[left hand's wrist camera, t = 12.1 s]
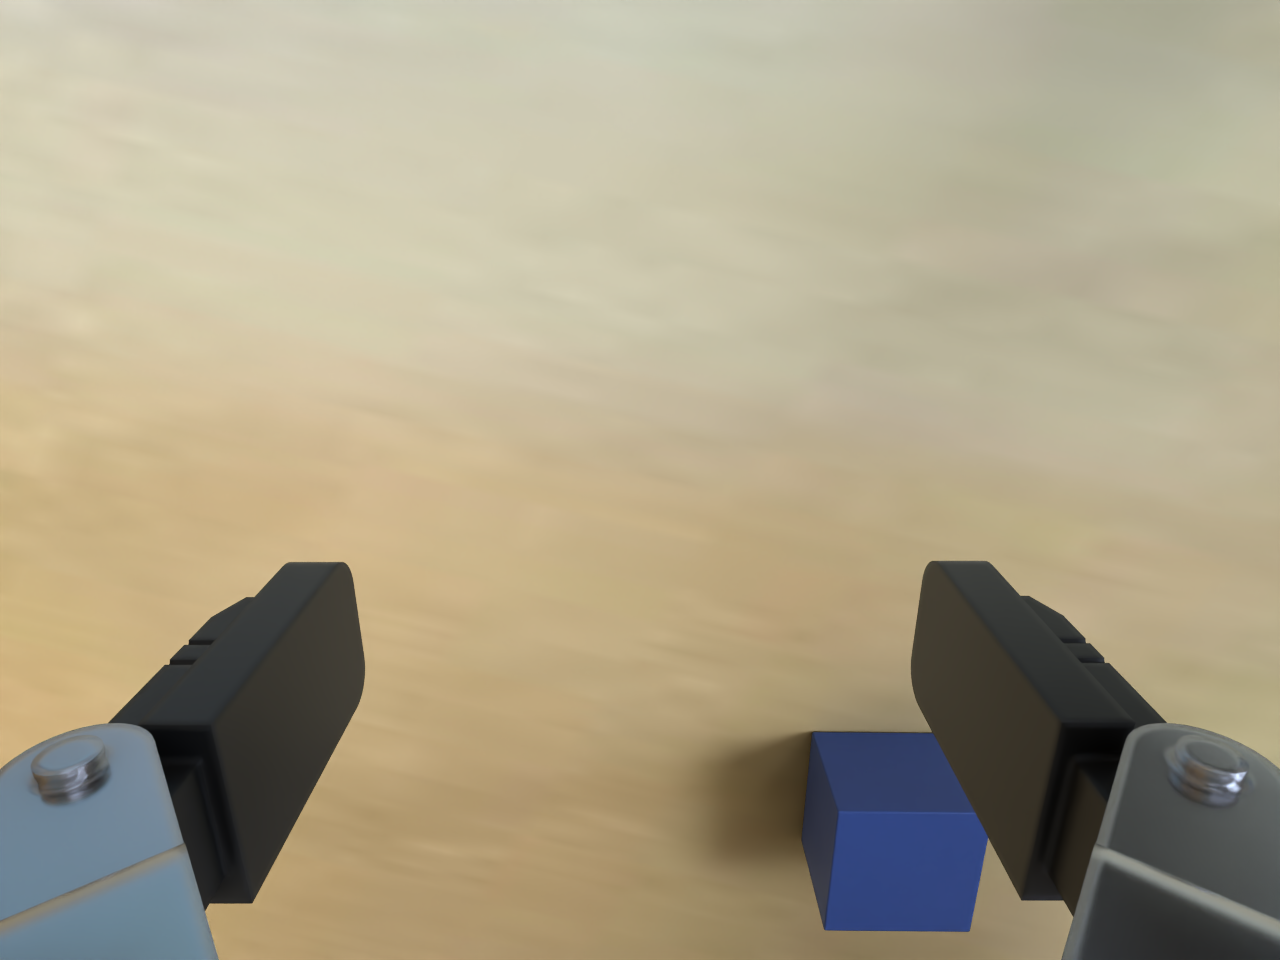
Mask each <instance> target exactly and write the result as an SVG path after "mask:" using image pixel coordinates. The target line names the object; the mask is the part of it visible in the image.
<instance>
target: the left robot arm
mask: <svg viewBox="0 0 1280 960" xmlns="http://www.w3.org/2000/svg"><path fill="white" fill-rule="evenodd" d="M364 678H365V660H364V652H363V645H362V639H361V632H360V625H359V618H358V611H357V604H356V597H355V590H354V583H353V577H352V574H351V571H350V569H349V567H348V565H347V564H346V563H344V562H289V563H286V564H285V565H284V566H283V567H282V568H281V569H280V570H279V571H278V572H277V573H276V574H275V575H274V577H273V578H272V579H271V580H270V581H269V582H268V583H267V584H266V585H265V586H264V587H263V589H262V590H261V591H260V592H259V593H258V594H257V595H256V596H255V597H246V598H244V599H242V600H241V601H239V602H237V603H235V604H234V605H232V606H230V607H228V608H227V609H225V610H223V611H221V612H220V613H218V614H216V615H214V616H213V617H211V618H210V619H209V620H208V621H207V622H206V623H205V624H204V625H203V626H202V627H201V628H200V629H199V630H198V632H197V633H196V634H195V635H194V636H193V637H192V638H191V639H190V640H189V645H184V646H183V647H182V648H181V649H180V650H179V651H178V652H177V653H176V654H175V655H174V656H173V657H172V658H171V659H170V664H169V665H164V666H163V667H162V668H161V669H160V670H159V671H158V672H157V673H156V675H155V676H154V677H153V678H152V679H151V680H150V681H149V682H148V683H147V684H146V685H145V686H144V687H143V688H142V689H141V690H140V691H139V692H138V693H137V694H136V695H135V696H134V697H133V698H132V699H131V700H130V701H129V702H128V703H127V704H126V705H125V706H124V707H123V708H122V709H121V710H120V711H119V712H118V713H117V714H116V715H115V716H114V718H113V719H112V720H111V721H110V722H109V723H107V724H99V725H93V726H88V727H83V728H79V729H76V730H72V731H69V732H66V733H63V734H60V735H57V736H55V737H52V738H50V739H48V740H46V741H43V742H41V743H39V744H37V745H35V746H33V747H31V748H30V749H28V750H26V751H24V752H23V753H21V754H20V755H18V756H17V757H15V758H14V759H12V760H11V761H10V762H8V763H7V764H6V765H5V766H3V767H2V768H1V769H0V960H219V959H218V956H217V952H216V949H215V945H214V942H213V938H212V935H211V931H210V928H209V924H208V921H207V917H206V914H205V910H206V909H207V907H208V905H209V903H253V901H254V899H255V897H256V895H257V893H258V892H259V890H260V888H261V886H262V884H263V882H264V880H265V879H266V877H267V875H268V873H269V871H270V869H271V867H272V865H273V864H274V862H275V860H276V858H277V856H278V854H279V852H280V850H281V849H282V847H283V845H284V843H285V841H286V839H287V837H288V836H289V834H290V832H291V830H292V828H293V826H294V824H295V822H296V821H297V819H298V817H299V815H300V813H301V811H302V809H303V807H304V806H305V804H306V802H307V800H308V798H309V796H310V794H311V793H312V791H313V789H314V787H315V785H316V783H317V781H318V779H319V778H320V776H321V774H322V772H323V770H324V768H325V766H326V764H327V763H328V761H329V759H330V757H331V755H332V753H333V751H334V750H335V748H336V746H337V744H338V742H339V740H340V738H341V736H342V735H343V733H344V731H345V729H346V727H347V725H348V723H349V722H350V720H351V718H352V716H353V714H354V712H355V710H356V708H357V706H358V704H359V702H360V699H361V695H362V691H363V686H364ZM911 678H912V686H913V691H914V694H915V698H916V701H917V703H918V705H919V707H920V709H921V711H922V713H923V715H924V717H925V719H926V721H927V723H928V724H929V726H930V728H931V730H932V732H933V734H934V736H935V738H936V740H937V741H938V743H939V745H940V747H941V749H942V751H943V753H944V755H945V757H946V758H947V760H948V762H949V764H950V766H951V768H952V770H953V772H954V774H955V775H956V777H957V779H958V781H959V783H960V785H961V787H962V789H963V791H964V793H965V794H966V796H967V798H968V800H969V802H970V804H971V806H972V808H973V810H974V811H975V813H976V815H977V817H978V819H979V821H980V823H981V825H982V827H983V828H984V830H985V832H986V834H987V836H988V838H989V840H990V842H991V844H992V845H993V847H994V849H995V851H996V853H997V855H998V857H999V859H1000V861H1001V863H1002V864H1003V866H1004V868H1005V870H1006V872H1007V874H1008V876H1009V878H1010V880H1011V881H1012V883H1013V885H1014V887H1015V889H1016V891H1017V893H1018V895H1019V897H1020V898H1021V900H1064V902H1065V903H1066V905H1067V907H1068V909H1069V910H1070V912H1071V914H1072V915H1073V921H1072V924H1071V928H1070V931H1069V935H1068V938H1067V942H1066V945H1065V949H1064V952H1063V956H1062V959H1061V960H1280V769H1279V768H1278V767H1277V766H1275V765H1274V764H1273V763H1272V762H1270V761H1269V760H1268V759H1266V758H1265V757H1263V756H1262V755H1260V754H1259V753H1257V752H1256V751H1254V750H1252V749H1250V748H1249V747H1247V746H1245V745H1243V744H1241V743H1239V742H1237V741H1234V740H1232V739H1230V738H1228V737H1225V736H1223V735H1220V734H1217V733H1214V732H1211V731H1208V730H1204V729H1201V728H1197V727H1192V726H1188V725H1181V724H1173V723H1167V722H1166V721H1165V720H1164V719H1163V718H1162V717H1161V716H1160V715H1159V714H1158V713H1157V712H1156V711H1155V710H1154V709H1153V708H1152V707H1151V706H1150V705H1149V704H1148V703H1147V702H1146V701H1145V700H1144V699H1143V698H1142V697H1141V696H1140V695H1139V693H1138V692H1137V691H1136V690H1135V689H1134V688H1133V687H1132V686H1131V685H1130V684H1129V683H1128V682H1127V681H1126V680H1125V679H1124V678H1123V677H1122V676H1121V675H1120V674H1119V673H1118V672H1117V671H1116V670H1115V669H1114V668H1113V667H1112V666H1111V665H1110V664H1109V663H1105V662H1104V657H1103V656H1102V655H1101V654H1100V653H1099V652H1098V651H1097V650H1096V649H1095V648H1094V647H1093V646H1092V645H1091V644H1090V643H1086V642H1085V638H1084V637H1083V636H1082V635H1081V634H1080V633H1079V631H1078V630H1077V629H1076V628H1075V627H1074V626H1073V625H1072V624H1071V623H1070V622H1069V621H1068V620H1067V619H1066V618H1065V617H1064V616H1063V615H1061V614H1059V613H1058V612H1056V611H1054V610H1052V609H1051V608H1049V607H1047V606H1045V605H1044V604H1042V603H1040V602H1038V601H1037V600H1035V599H1033V598H1031V597H1030V596H1020V595H1019V594H1018V593H1017V592H1016V591H1015V590H1014V588H1013V587H1012V586H1011V585H1010V584H1009V583H1008V582H1007V581H1006V580H1005V579H1004V577H1003V576H1002V575H1001V574H1000V573H999V572H998V571H997V570H996V569H995V568H994V566H993V565H992V564H990V563H989V562H987V561H931V562H930V563H929V564H928V565H927V567H926V569H925V571H924V575H923V580H922V586H921V593H920V600H919V607H918V615H917V622H916V629H915V636H914V643H913V650H912V657H911Z"/></svg>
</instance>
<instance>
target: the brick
mask: <svg viewBox="0 0 1280 960" xmlns="http://www.w3.org/2000/svg"><path fill="white" fill-rule="evenodd" d="M987 840H988V836H987V834H986V832H985V830H984V828H983V827H982V825H981V823H980V821H979V819H978V817H977V815H976V813H975V811H974V810H973V808H972V806H971V804H970V802H969V800H968V798H967V796H966V794H965V793H964V791H963V789H962V787H961V785H960V783H959V781H958V779H957V777H956V775H955V774H954V772H953V770H952V768H951V766H950V764H949V762H948V760H947V758H946V757H945V755H944V753H943V751H942V749H941V747H940V745H939V743H938V741H937V740H936V738H935V736H934V734H933V733H858V732H813V733H812V740H811V750H810V760H809V770H808V780H807V790H806V800H805V810H804V820H803V830H802V844H803V848H804V852H805V856H806V860H807V864H808V868H809V872H810V876H811V880H812V883H813V887H814V891H815V895H816V899H817V903H818V907H819V911H820V915H821V919H822V923H823V927H824V930H839V931H945V932H969V931H970V927H971V922H972V917H973V911H974V906H975V901H976V896H977V891H978V886H979V881H980V876H981V871H982V866H983V861H984V855H985V850H986V845H987Z"/></svg>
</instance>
